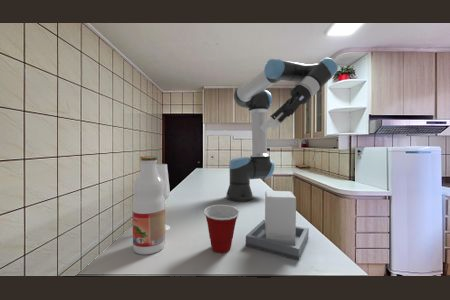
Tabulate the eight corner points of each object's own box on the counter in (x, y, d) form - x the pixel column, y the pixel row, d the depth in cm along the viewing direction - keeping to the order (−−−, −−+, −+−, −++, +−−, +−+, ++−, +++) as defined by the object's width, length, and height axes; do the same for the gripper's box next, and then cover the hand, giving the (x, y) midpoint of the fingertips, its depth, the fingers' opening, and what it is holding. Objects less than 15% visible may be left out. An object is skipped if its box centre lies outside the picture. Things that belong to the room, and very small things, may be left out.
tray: (263, 228, 81) (263, 219, 80) (308, 237, 72) (308, 228, 72) (245, 245, 67) (245, 235, 67) (298, 260, 59) (298, 249, 59)
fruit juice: (166, 252, 63) (165, 157, 62) (131, 257, 60) (130, 158, 58) (164, 238, 71) (164, 155, 70) (134, 242, 68) (133, 155, 67)
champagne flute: (161, 223, 85) (161, 163, 84) (173, 227, 81) (173, 164, 80) (147, 229, 79) (146, 164, 78) (160, 233, 75) (159, 166, 74)
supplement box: (296, 247, 64) (297, 197, 63) (265, 245, 65) (266, 196, 65) (291, 234, 73) (291, 190, 72) (264, 232, 74) (265, 189, 74)
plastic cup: (210, 261, 58) (210, 218, 57) (199, 244, 68) (199, 206, 67) (245, 253, 62) (246, 213, 62) (230, 238, 72) (230, 203, 72)
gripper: (328, 90, 72) (284, 134, 71) (297, 103, 97) (264, 136, 96) (313, 74, 71) (269, 118, 71) (286, 91, 96) (253, 124, 96)
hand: (266, 128), depth 84 cm, fingers open, 13 cm apart
